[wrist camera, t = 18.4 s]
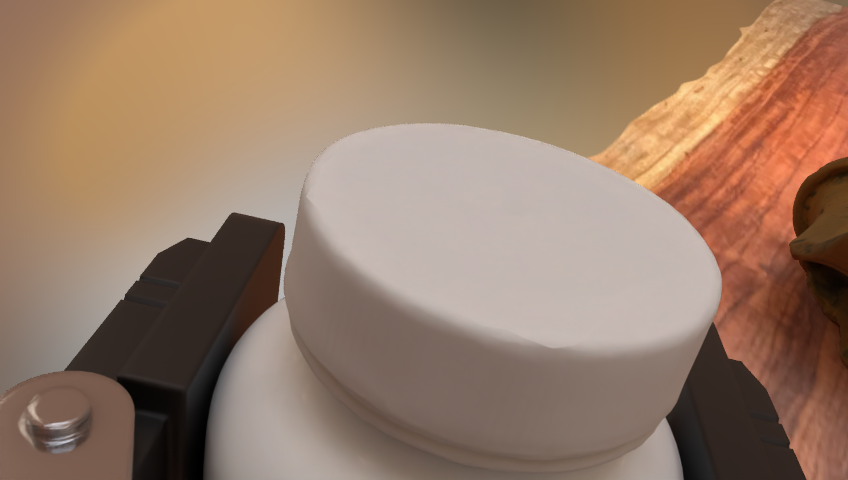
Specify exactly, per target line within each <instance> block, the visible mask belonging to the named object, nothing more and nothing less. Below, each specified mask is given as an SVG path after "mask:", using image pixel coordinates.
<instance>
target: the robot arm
mask: <svg viewBox="0 0 848 480" xmlns="http://www.w3.org/2000/svg"><path fill="white" fill-rule="evenodd" d="M284 240H285V226H284V224H283V223H279V222H275V221H270V220H266V219H261V218H257V217H252V216H248V215H243V214H238V213H231V215H229V217H228V218H227V219H226V221H225V223H224V224H223V225H222V227H221V228H220V229H219V231H218V232H217V234H216V235H215V237H214V238H213V239H212V241H211V242H206V241H201V240H197V239H192V238H186V239H185V240H183V241H181V242H179V243H177V244H175V245H173V246H171V247H169V248H168V249H166V250H164V251H162V252H160V253H158V254H157V256H156V257H155V258H154V259H153V261H152V262H151V263H150V264H149V266H148V267H147V268H146V269H145V271H144V272H143V273H142V274H141V276H140V279H139V281H136V282H135V283H134V284H133V286H132V287H131V288H130V289H129V290H128V292H127V293H126V294H125V298H124V300H120V302H119V303H118V304H117V305H116V307H115V308H114V309H113V311H112V312H111V313H110V314H109V315H108V317H107V318H106V319H105V320H104V322H103V323H102V324H101V325H100V327H99V328H98V329H97V330H96V332H95V333H94V334H93V335H92V337H91V338H90V339H89V340H88V342H87V343H86V344H85V345H84V346H83V348H82V349H81V350H80V352H79V353H78V354H77V355H76V356H75V358H74V359H73V360H72V361H71V363H70V364H69V365H68V366H67V368H66V369H65V370H64V371H61V372H53V373H48V374H43V375H40V376H37V377H34V378H31V379H28V380H26V381H24V382H21V383H19V384H17V385H15V386H14V387H12V388H10V389H9V390H7V391H6V392H5V393H3V394H2V395H1V396H0V480H203V462H204V448H205V436H206V428H207V421H208V416H209V409H210V404H211V400H212V395H213V392H214V389H215V386H216V383H217V380H218V377H219V374H220V372H221V370H222V368H223V366H224V364H225V362H226V360H227V358H228V356H229V355H230V353H231V351H232V349H233V348H234V346H235V344H236V343H237V342H238V340H239V339H240V338H241V337H242V335H243V334H244V333H245V332H246V330H247V329H248V328H249V327H250V326H251V325H252V324H253V323H254V322H255V321H256V320H257V319H258V318H259V317H260V316H261V315H262V314H263V313H264V312H265V311H266V310H267V309H269V308H270V307H271V306H273V305H274V304H275V303H277V302H278V294H279V285H280V275H281V267H282V258H283V249H284ZM666 419H667V422H668V424H669V426H670V428H671V431H672V433H673V436H674V439H675V441H676V444H677V447H678V451H679V455H680V459H681V464H682V469H683V478H684V480H806V477H805V475H804V473H803V471H802V469H801V466H800V464H799V462H798V460H797V457H796V455H795V453H794V451H793V449H789V444H790V442H789V439H788V437H787V435H786V433H785V430H784V428H783V426H782V424H778V421H779V417H778V415H777V413H776V410H775V408H774V406H773V404H772V401H771V399H770V397H769V395H768V392H767V390H766V389H765V388H764V386H763V385H762V384H761V383H760V382H759V381H758V380H757V379H756V378H755V376H754V375H753V374H752V373H751V372H750V371H749V370H748V369H747V368H746V367H745V365H744V364H743V363H742V362H741V361H737V360H732V359H728V357H727V354H726V352H725V350H724V347H723V345H722V342H721V340H720V337H719V335H718V332H717V330H716V327H715V325H714V323H713V322H712V324H711V326H710V328H709V330H708V332H707V335H706V337H705V339H704V341H703V343H702V346H701V348H700V350H699V352H698V354H697V357H696V359H695V361H694V363H693V365H692V368H691V370H690V372H689V374H688V376H687V378H686V381H685V383H684V385H683V388H682V390H681V393H680V395H679V398H678V400H677V403H676V404H675V406H674V407H673V409H672V410H671V412H670V413H669V414H668V415H667V416H666Z"/></svg>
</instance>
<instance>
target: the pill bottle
mask: <svg viewBox="0 0 848 480" xmlns="http://www.w3.org/2000/svg"><path fill="white" fill-rule="evenodd" d="M721 291H722V277H721V273H720V269H719V267H718V265H717V262H716V259H715V257H714V255H713V253H712V252H711V250H710V248H709V247H708V245H707V244H706V242H705V241H704V239H703V238H702V237H701V236H700V234H699V233H698V232H697V231H696V229H695V228H694V227H693V226H692V225H691V224H690V223H689V222H688V220H687V219H686V218H685V217H684V216H683V215H682V214H680V213H679V212H678V211H676V210H675V209H674V208H673V207H672V206H671V205H670V204H668V203H667V202H665V201H664V200H662V199H661V198H660V197H658V196H657V195H655V194H654V193H652V192H651V191H649V190H648V189H646V188H644V187H642V186H641V185H639V184H637V183H635V182H634V181H632V180H630V179H629V178H627V177H625V176H623V175H621V174H620V173H618V172H616V171H614V170H612V169H610V168H608V167H605V166H603V165H601V164H598V163H596V162H594V161H592V160H590V159H587V158H585V157H582V156H580V155H577V154H575V153H573V152H570V151H568V150H565V149H562V148H559V147H556V146H553V145H550V144H547V143H544V142H541V141H537V140H533V139H530V138H526V137H522V136H518V135H514V134H509V133H505V132H500V131H495V130H490V129H484V128H478V127H472V126H464V125H455V124H437V123H421V124H399V125H394V126H384V127H378V128H372V129H367V130H364V131H362V132H357V133H353V134H351V135H348V136H346V137H344V138H341V139H339V140H337V141H336V142H334V143H333V144H332V145H330V146H328V147H327V148H325V149H324V150H323V151H322V152H321V153H320V154H319V155H318V156H317V158H316V159H315V160H314V162H313V163H312V165H311V166H310V169H309V171H308V173H307V175H306V178H305V181H304V184H303V188H302V191H301V197H300V202H299V208H298V214H297V220H296V227H295V232H294V238H293V243H292V249H291V252H290V255H289V257H288V260H287V264H286V268H285V276H284V295H285V297H284V298H283V299H281V300H280V301H278V302H277V303H275V304H274V305H273V306H271V307H270V308H269V309H267V310H266V311H265V312H264V313H263V314H262V315H261V316H260V317H259V318H258V319H257V320H256V321H255V322H254V323H253V324H252V325H251V326H250V327H249V328H248V329H247V330H246V332H245V333H244V334H243V335H242V337H241V338H240V339H239V340H238V342H237V343H236V344H235V346H234V348H233V349H232V351H231V353H230V355H229V356H228V358H227V360H226V362H225V364H224V366H223V368H222V370H221V372H220V374H219V377H218V380H217V383H216V386H215V389H214V392H213V395H212V400H211V404H210V409H209V416H208V421H207V428H206V436H205V448H204V462H203V480H684V478H683V469H682V464H681V459H680V455H679V451H678V447H677V444H676V441H675V439H674V436H673V433H672V431H671V428H670V426H669V424H668V422H667V419H666V416H667V415H668V414H669V413H670V412H671V410H672V409H673V407H674V406H675V404H676V403H677V400H678V398H679V395H680V393H681V390H682V388H683V385H684V383H685V381H686V378H687V376H688V374H689V372H690V370H691V368H692V365H693V363H694V361H695V359H696V357H697V354H698V352H699V350H700V348H701V346H702V343H703V341H704V339H705V337H706V335H707V332H708V330H709V328H710V326H711V324H712V321H713V319H714V317H715V315H716V312H717V310H718V306H719V302H720V299H721Z"/></svg>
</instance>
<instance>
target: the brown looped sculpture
mask: <svg viewBox="0 0 848 480" xmlns="http://www.w3.org/2000/svg"><path fill="white" fill-rule="evenodd" d="M793 226H794V231H795V234H796V236H797V238H795V239H794V240H793V241H792V242H790V243H789V246H790V252H791V254H792V257H793V258H794V259H795V260H799V262H800V265H801V266H802V267H803V269H804V270H805V271H806V272H807V274H806V276H807V285H808V287H809V289H810V290H811V293H812V294H813V296H814V298H815V299H816V300H817V302H818V303H819V305H820V306H821V307H822V309H823V313H824V314H825V315H826V316H827V317H828V318H829V319H830V320H832V321H834V322H835V323H837V324H839V326H840V337H841V341H840V358H841V360H842V362H843V363H844V365H845V366H846V367H847V368H848V157H846V158H841V159H838V160H835V161H832V162H830V163H828V164H826V165H825V166H823V167H821V168H820V169H819V170H818V171H816V172H815V173H813V174H812V175H810V176H808V177H807V178H806V179H805V181H804V182H803V183H802V185H801V186H800V188H799V190H798V192H797V195H796V198H795V201H794V206H793Z"/></svg>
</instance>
